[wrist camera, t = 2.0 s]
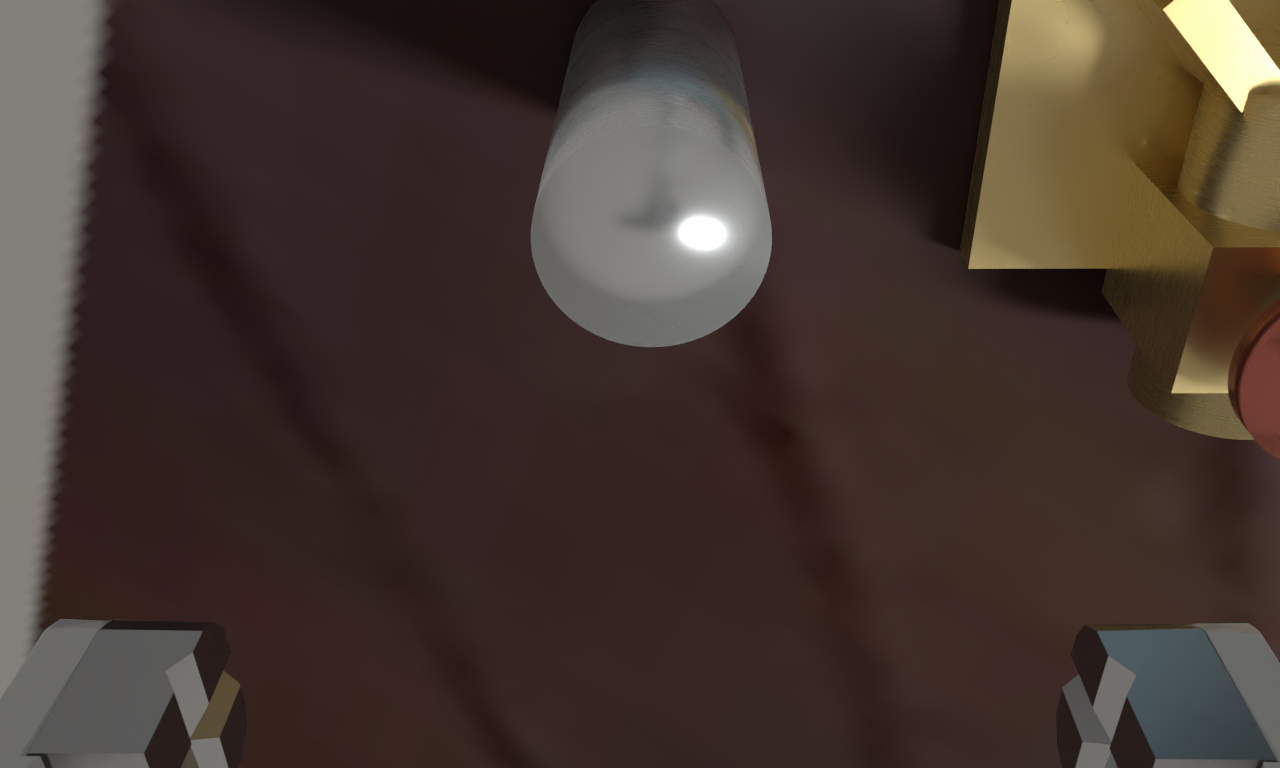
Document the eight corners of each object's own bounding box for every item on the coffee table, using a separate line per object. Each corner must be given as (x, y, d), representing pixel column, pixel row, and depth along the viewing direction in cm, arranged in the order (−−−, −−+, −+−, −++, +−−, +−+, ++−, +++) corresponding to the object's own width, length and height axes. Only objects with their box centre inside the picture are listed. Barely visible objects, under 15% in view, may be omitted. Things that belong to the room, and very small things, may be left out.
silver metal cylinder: (567, -23, 26) (522, 127, 18) (740, -24, 26) (778, 126, 18) (574, 143, 28) (537, 347, 20) (734, 142, 28) (765, 346, 20)
